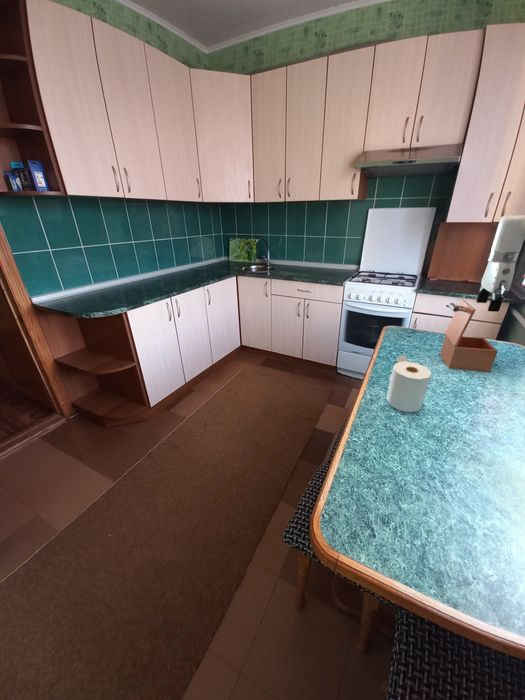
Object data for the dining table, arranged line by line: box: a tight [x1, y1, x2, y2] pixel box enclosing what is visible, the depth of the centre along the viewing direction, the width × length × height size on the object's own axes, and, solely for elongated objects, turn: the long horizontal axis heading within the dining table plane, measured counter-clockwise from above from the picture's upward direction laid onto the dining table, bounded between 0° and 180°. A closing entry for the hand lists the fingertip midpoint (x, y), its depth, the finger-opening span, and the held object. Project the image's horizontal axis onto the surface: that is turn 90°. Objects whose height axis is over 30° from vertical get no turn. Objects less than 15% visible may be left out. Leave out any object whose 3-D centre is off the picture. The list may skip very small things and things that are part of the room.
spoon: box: [388, 355, 409, 382], centre depth 109 cm, size 4×21×2 cm, turn 145°
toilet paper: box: [386, 361, 432, 414], centre depth 89 cm, size 10×10×12 cm
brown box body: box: [439, 335, 499, 373], centre depth 111 cm, size 14×12×9 cm
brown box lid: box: [444, 299, 476, 347], centre depth 108 cm, size 14×12×5 cm
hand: (486, 306), depth 103 cm, fingers open, 9 cm apart
